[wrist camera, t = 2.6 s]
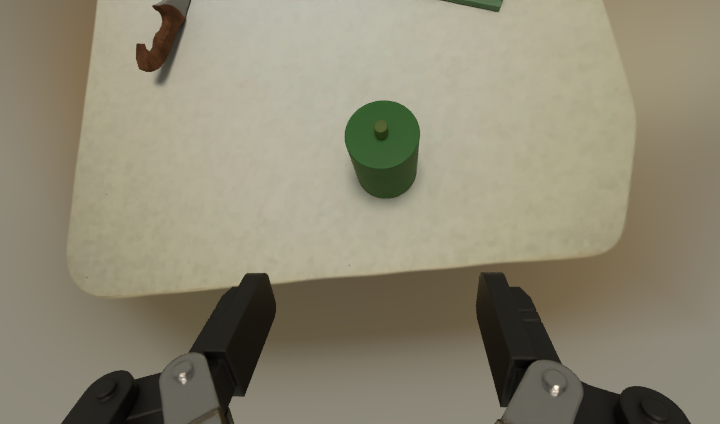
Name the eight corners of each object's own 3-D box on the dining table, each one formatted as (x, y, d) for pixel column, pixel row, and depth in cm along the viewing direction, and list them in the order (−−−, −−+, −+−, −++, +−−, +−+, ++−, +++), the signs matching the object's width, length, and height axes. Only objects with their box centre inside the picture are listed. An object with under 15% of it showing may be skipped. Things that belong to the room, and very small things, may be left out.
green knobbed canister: (424, 152, 33) (431, 102, 25) (404, 206, 32) (405, 172, 24) (369, 136, 34) (358, 82, 26) (348, 187, 33) (330, 149, 25)
